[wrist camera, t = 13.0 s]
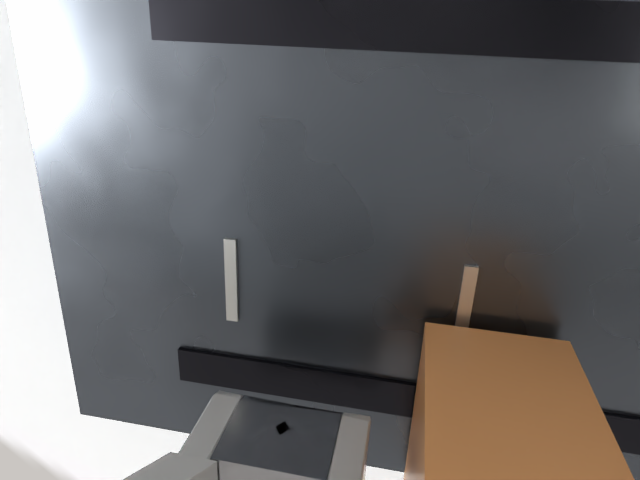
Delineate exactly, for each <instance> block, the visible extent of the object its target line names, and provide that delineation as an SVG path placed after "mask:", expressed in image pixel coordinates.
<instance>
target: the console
mask: <svg viewBox="0 0 640 480" xmlns="http://www.w3.org/2000/svg"><path fill="white" fill-rule="evenodd" d="M6 4H7V10H8V15H9V21H10V26H11V32H12V37H13V43H14V49H15V54H16V60H17V65H18V71H19V76H20V82H21V87H22V93H23V98H24V104H25V109H26V115H27V120H28V126H29V131H30V137H31V142H32V148H33V153H34V159H35V165H36V170H37V176H38V181H39V187H40V192H41V198H42V203H43V209H44V214H45V220H46V225H47V231H48V236H49V242H50V247H51V253H52V258H53V264H54V269H55V275H56V280H57V286H58V292H59V297H60V303H61V308H62V314H63V319H64V325H65V330H66V336H67V341H68V347H69V352H70V358H71V363H72V369H73V374H74V380H75V385H76V391H77V396H78V402H79V407H80V413H81V414H84V415H90V416H95V417H101V418H106V419H112V420H117V421H123V422H128V423H134V424H139V425H145V426H151V427H156V428H162V429H167V430H173V431H178V432H184V433H189V434H190V433H191V431H192V430H193V428H194V426H195V425H196V423H197V421H198V420H199V418H200V416H201V415H202V413H203V411H204V410H205V408H206V406H207V404H208V403H209V401H210V399H211V398H212V396H213V395H214V394H215V393H217V392H218V391H223V392H229V393H234V394H239V395H243V396H244V395H247V396H252V397H257V398H262V399H267V400H272V401H277V402H283V403H288V404H293V405H299V406H305V407H311V408H317V409H323V410H330V411H336V412H342V413H344V412H345V413H352V414H359V415H365V416H370V418H371V425H370V434H369V443H368V453H367V462H366V465H367V466H372V467H378V468H383V469H389V470H394V471H400V472H405V466H406V458H407V451H408V444H409V436H410V429H411V422H412V415H413V407H414V400H415V393H416V385H417V378H418V371H419V363H420V356H421V349H422V342H423V334H424V327H425V322H428V323H436V324H444V325H451V326H459V327H466V328H474V329H481V330H489V331H497V332H504V333H512V334H519V335H527V336H534V337H542V338H550V339H557V340H565V341H570V342H571V345H572V347H573V349H574V351H575V353H576V355H577V357H578V360H579V362H580V364H581V366H582V368H583V370H584V372H585V375H586V377H587V379H588V381H589V383H590V385H591V387H592V390H593V392H594V394H595V396H596V398H597V400H598V402H599V405H600V407H601V409H602V411H603V413H604V415H605V418H606V420H607V422H608V424H609V426H610V428H611V430H612V433H613V435H614V437H615V439H616V441H617V443H618V445H619V448H620V450H621V452H622V454H623V456H624V458H625V460H626V463H627V465H628V467H629V469H630V471H631V473H632V475H633V478H634V480H640V0H6Z"/></svg>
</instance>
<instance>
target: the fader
mask: <svg viewBox="0 0 640 480" xmlns="http://www.w3.org/2000/svg"><path fill="white" fill-rule="evenodd" d="M404 480H634V478H633V475H632V473H631V471H630V469H629V467H628V465H627V463H626V460H625V458H624V456H623V454H622V452H621V450H620V448H619V445H618V443H617V441H616V439H615V437H614V435H613V433H612V430H611V428H610V426H609V424H608V422H607V420H606V418H605V415H604V413H603V411H602V409H601V407H600V405H599V402H598V400H597V398H596V396H595V394H594V392H593V390H592V387H591V385H590V383H589V381H588V379H587V377H586V375H585V372H584V370H583V368H582V366H581V364H580V362H579V360H578V357H577V355H576V353H575V351H574V349H573V347H572V345H571V342H570V341H565V340H557V339H550V338H542V337H534V336H527V335H519V334H512V333H504V332H497V331H489V330H481V329H474V328H466V327H459V326H451V325H444V324H436V323H428V322H425V327H424V334H423V342H422V349H421V356H420V363H419V371H418V378H417V385H416V393H415V400H414V407H413V415H412V422H411V429H410V436H409V444H408V451H407V458H406V466H405V473H404Z"/></svg>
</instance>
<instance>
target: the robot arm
mask: <svg viewBox="0 0 640 480" xmlns="http://www.w3.org/2000/svg"><path fill="white" fill-rule="evenodd" d="M370 425H371V418H370V416H365V415H359V414H352V413H345V412H344V413H342V412H336V411H330V410H323V409H317V408H311V407H305V406H299V405H293V404H288V403H283V402H277V401H272V400H267V399H262V398H257V397H252V396H247V395H244V396H243V395H239V394H234V393H229V392H223V391H218V392H217V393H215V394H214V395H213V396H212V398H211V399H210V401H209V403H208V404H207V406H206V408H205V410H204V411H203V413H202V415H201V416H200V418H199V420H198V421H197V423H196V425H195V426H194V428H193V430H192V431H191V433H190V435H189V436H188V438H187V440H186V441H185V443H184V445H183V446H182V448H181V450H180V451H179V453H172V452H170V453H168V454H167V455H165V456H163V457H161V458H160V459H158V460H156V461H154V462H153V463H151V464H149V465H147V466H146V467H144V468H142V469H140V470H139V471H137V472H135V473H133V474H132V475H130V476H128V477H127V478H125V479H123V480H365V471H366V462H367V453H368V443H369V434H370Z"/></svg>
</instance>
